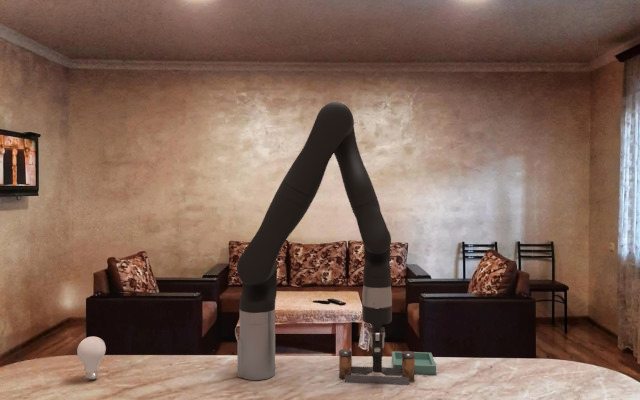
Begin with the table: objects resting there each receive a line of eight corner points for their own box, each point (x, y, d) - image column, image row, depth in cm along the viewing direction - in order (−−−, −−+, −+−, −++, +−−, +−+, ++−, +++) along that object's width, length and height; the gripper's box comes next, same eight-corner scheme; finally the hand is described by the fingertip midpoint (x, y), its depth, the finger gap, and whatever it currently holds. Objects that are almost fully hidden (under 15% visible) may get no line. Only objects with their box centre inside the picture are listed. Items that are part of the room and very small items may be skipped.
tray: (393, 373, 137) (393, 364, 137) (391, 359, 148) (391, 351, 148) (436, 375, 136) (436, 366, 136) (431, 361, 147) (431, 352, 147)
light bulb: (111, 377, 134) (111, 335, 134) (90, 386, 128) (90, 342, 128) (93, 373, 137) (92, 332, 136) (71, 382, 131) (71, 338, 130)
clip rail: (337, 382, 131) (338, 355, 131) (339, 372, 138) (339, 347, 137) (416, 385, 129) (416, 357, 129) (413, 375, 136) (413, 349, 136)
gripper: (362, 296, 140) (362, 356, 141) (361, 309, 126) (361, 375, 127) (390, 297, 140) (390, 357, 140) (393, 310, 125) (393, 376, 126)
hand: (377, 366), depth 133 cm, fingers open, 8 cm apart
